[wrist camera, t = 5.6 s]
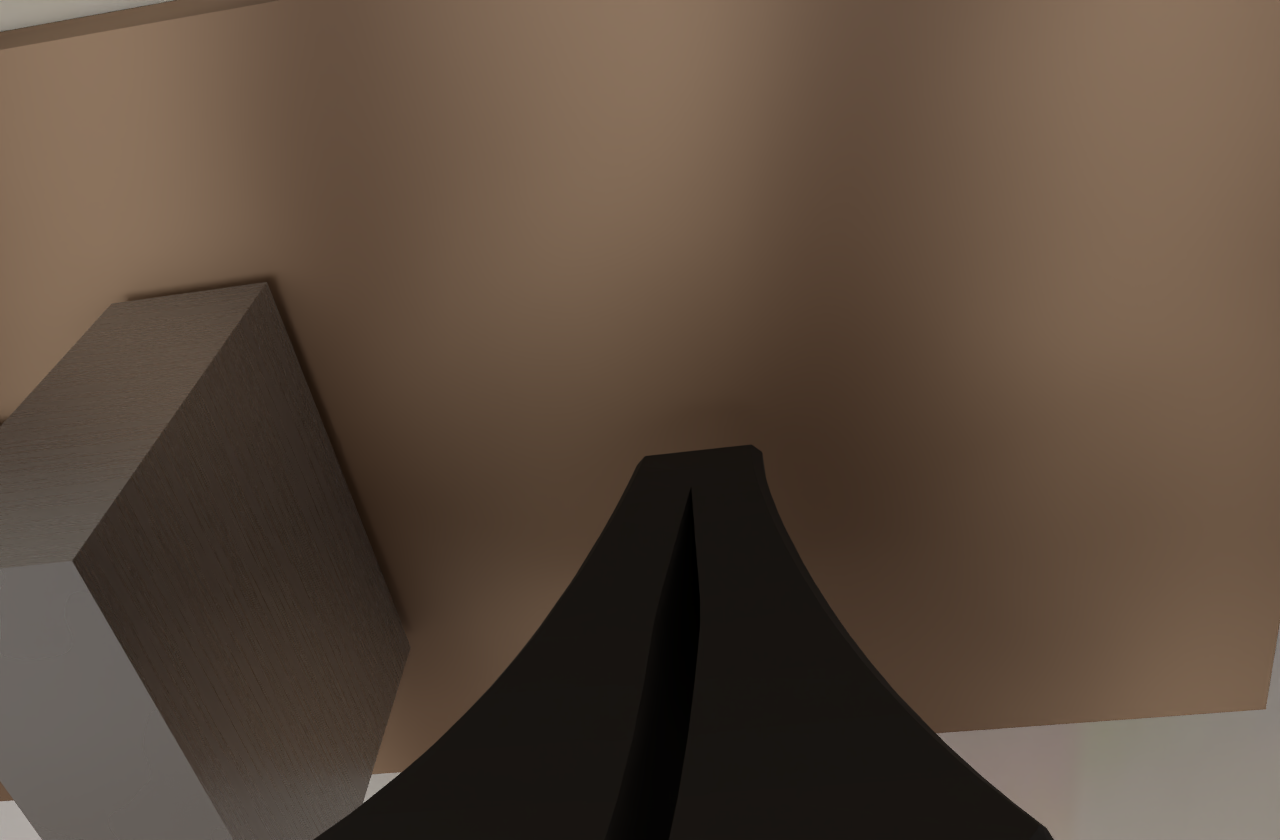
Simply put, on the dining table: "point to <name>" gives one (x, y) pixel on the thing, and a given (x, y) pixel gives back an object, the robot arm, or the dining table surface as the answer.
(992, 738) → the dining table surface
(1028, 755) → the dining table surface
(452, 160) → the launcher board
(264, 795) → the grey h-shaped block
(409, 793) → the robot arm
